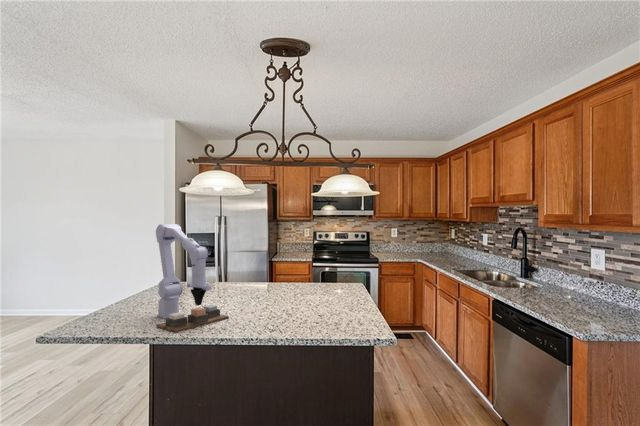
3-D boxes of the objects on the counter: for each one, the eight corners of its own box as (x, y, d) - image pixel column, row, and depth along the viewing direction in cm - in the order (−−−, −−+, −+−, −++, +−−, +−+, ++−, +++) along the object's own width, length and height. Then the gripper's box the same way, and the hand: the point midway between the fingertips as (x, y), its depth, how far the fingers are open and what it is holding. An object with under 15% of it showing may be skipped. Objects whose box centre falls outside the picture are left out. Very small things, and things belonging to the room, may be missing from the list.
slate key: (203, 313, 179) (203, 306, 179) (211, 312, 182) (211, 304, 182) (209, 315, 176) (209, 307, 176) (217, 313, 180) (217, 306, 180)
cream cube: (168, 322, 164) (168, 314, 164) (177, 320, 168) (177, 312, 168) (174, 324, 161) (174, 315, 161) (183, 321, 165) (183, 313, 165)
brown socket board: (156, 326, 164) (156, 317, 164) (209, 313, 187) (209, 305, 187) (175, 332, 156) (175, 323, 156) (228, 318, 179) (228, 309, 179)
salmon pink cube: (191, 317, 170) (191, 309, 170) (199, 314, 173) (199, 307, 173) (197, 318, 167) (197, 310, 167) (205, 316, 171) (205, 308, 171)
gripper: (181, 273, 171) (180, 304, 171) (201, 277, 163) (201, 309, 163) (194, 272, 177) (194, 301, 177) (214, 275, 169) (214, 305, 168)
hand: (198, 304), depth 170 cm, fingers closed
